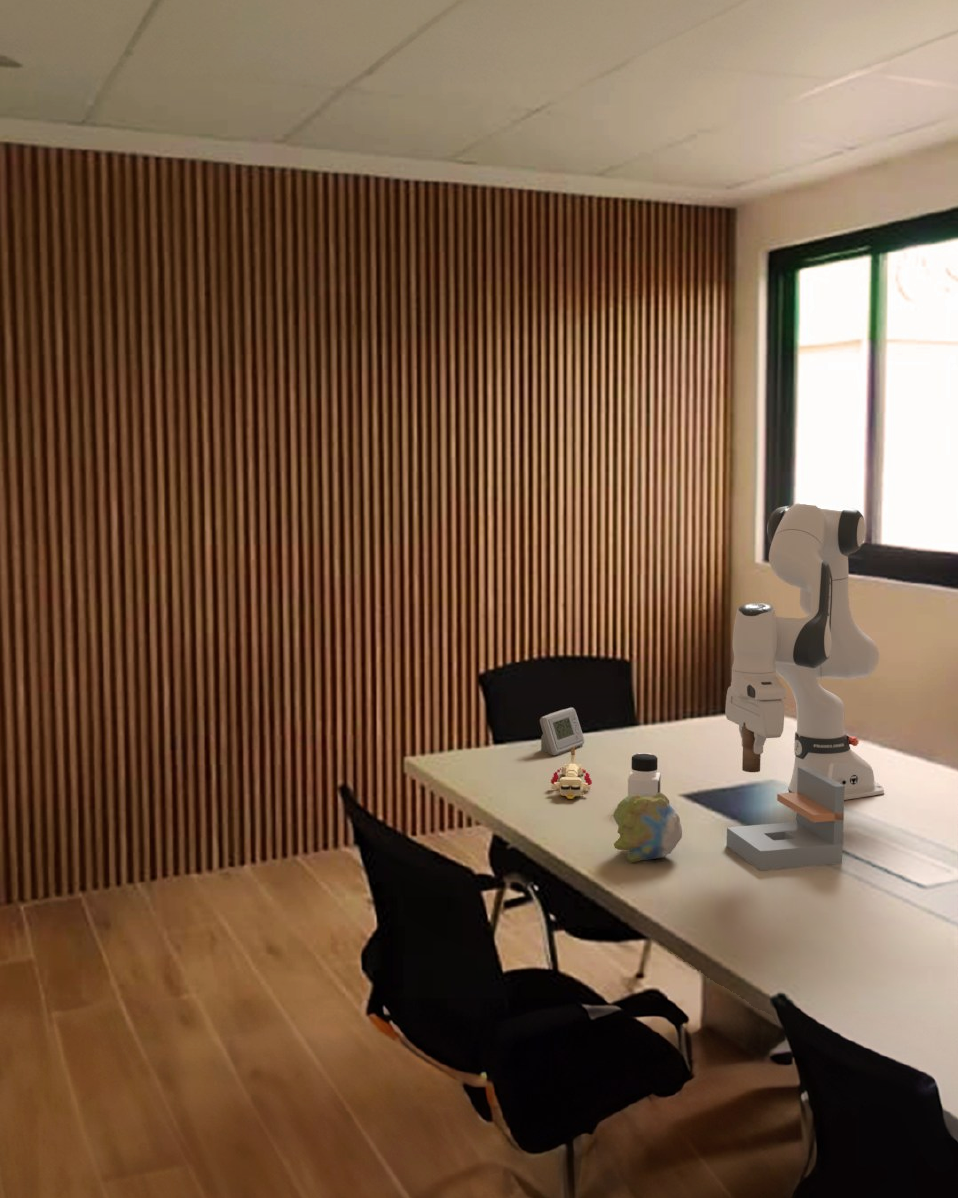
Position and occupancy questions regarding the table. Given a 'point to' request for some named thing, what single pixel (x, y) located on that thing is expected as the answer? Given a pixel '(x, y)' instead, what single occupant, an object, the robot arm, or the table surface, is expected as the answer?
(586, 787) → the cream toy figure
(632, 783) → the medicine bottle
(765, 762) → the table surface
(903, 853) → the table surface
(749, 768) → the peg
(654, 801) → the relief earth globe
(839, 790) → the station
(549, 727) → the digital clock
